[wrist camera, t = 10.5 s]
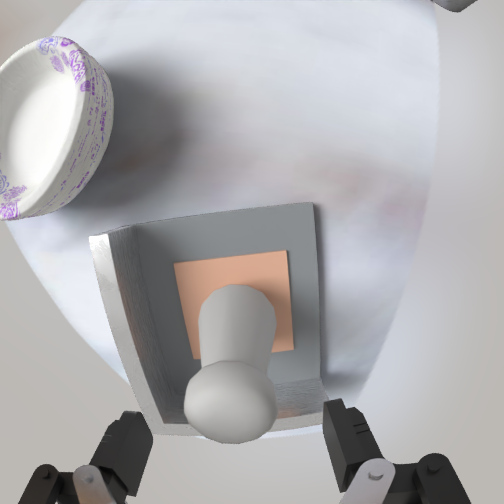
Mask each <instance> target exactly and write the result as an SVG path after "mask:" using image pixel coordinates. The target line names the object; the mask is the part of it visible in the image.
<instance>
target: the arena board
mask: <svg viewBox="0 0 504 504" xmlns="http://www.w3.org/2000/svg"><path fill="white" fill-rule="evenodd" d="M134 225H135V229H136V235H137V241H138V247H139V252H140V258H141V263H142V268H143V273H144V278H145V283H146V287H147V292H148V296H149V301H150V305H151V309H152V313H153V317H154V321H155V325H156V329H157V333H158V337H159V340H160V344H161V347H162V351H163V354H164V358H165V361H166V364H167V368H168V371H169V374H170V377H171V380H172V384H173V387H174V390H187V386H188V383H189V381H190V379H191V378H193V377H194V376H195V375H196V374H197V373H198V372H199V371H200V370H201V369H202V365H201V353H200V340H199V325H198V319H199V314H200V310H201V305H202V304H203V303H204V302H205V300H206V299H207V298H208V297H209V296H210V295H211V294H212V292H213V291H215V290H217V289H220V288H222V287H224V286H227V285H229V284H235V285H248V286H250V287H252V288H254V289H256V290H258V291H260V292H263V294H264V295H265V296H266V298H267V299H268V300H269V302H270V303H271V304H272V306H273V307H274V311H275V316H276V321H277V326H276V331H275V336H274V341H273V346H272V351H271V356H270V361H269V366H268V371H267V375H266V376H267V377H268V378H269V379H270V380H271V382H272V383H273V384H277V383H285V382H292V381H299V380H305V379H311V378H317V377H320V307H319V283H318V264H317V249H316V235H315V222H314V211H313V203H312V202H306V203H296V204H286V205H276V206H267V207H258V208H249V209H240V210H232V211H224V212H216V213H209V214H201V215H194V216H187V217H180V218H173V219H166V220H160V221H153V222H147V223H140V224H134ZM128 226H132V225H128ZM123 227H126V226H123ZM119 228H120V227H119Z"/></svg>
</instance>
